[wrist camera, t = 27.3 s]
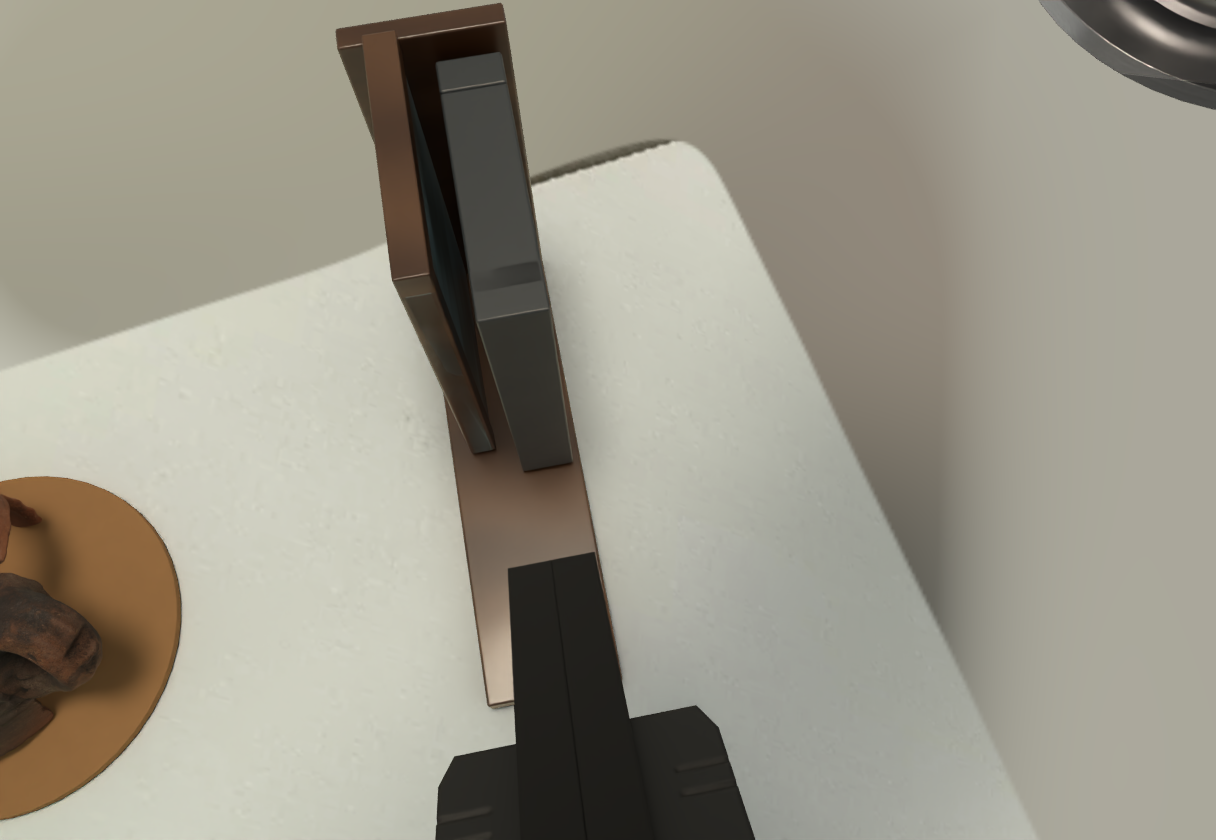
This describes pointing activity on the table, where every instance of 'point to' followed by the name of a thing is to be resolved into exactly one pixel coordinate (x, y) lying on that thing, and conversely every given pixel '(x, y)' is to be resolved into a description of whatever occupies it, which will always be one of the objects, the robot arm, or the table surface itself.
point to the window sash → (504, 256)
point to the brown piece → (461, 314)
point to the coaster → (120, 612)
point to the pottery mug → (36, 643)
